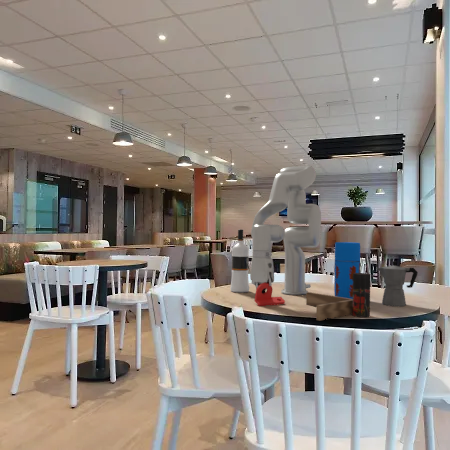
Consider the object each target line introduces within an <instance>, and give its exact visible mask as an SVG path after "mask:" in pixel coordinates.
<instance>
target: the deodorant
mask: <svg viewBox="0 0 450 450" xmlns="http://www.w3.org/2000/svg"><path fill="white" fill-rule="evenodd" d="M352 316H353V317H355V316H357V317H356V318H370V317H371V273H363V272H360V273H353V314H352ZM369 316H370V317H369Z"/></svg>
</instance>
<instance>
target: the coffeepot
mask: <svg viewBox="0 0 450 450" xmlns="http://www.w3.org/2000/svg"><path fill="white" fill-rule="evenodd" d="M377 271H379V272H380V275H381V276H382V278H383V283H384V284H385V288H384V291H383V295H382V301H381V303H382V304H383V305H384V304H385V305H384V306H388V305H390V306H389V307H406V305H407V302H406V296H405V290H404V288H403V287H404V285H405V280H406V275H407V273H412V277H411V279H410V281H409V284H408V285H406V288H409V289H411V288H413V287H414V284H415V281H416V279H417V276H418V271H417V269H415V268H414V267H402V266H399V265H397V261H396V260H393V261H392V265H390V266H383V267H378V268H377Z"/></svg>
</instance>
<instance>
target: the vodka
mask: <svg viewBox="0 0 450 450" xmlns="http://www.w3.org/2000/svg"><path fill="white" fill-rule="evenodd" d="M249 251H250V248H249V246H247V244H245V243H244V229H238V230H237V243H236V244H235V245H233V246H232V247H231V280H230V281H231V283H230V287H229V288H230V289H229V290H230V291H231V292H232V293H239V294H240V293H241V294H242V293H248V292H249V291H250V284H249V273H250V272H249V261H250V260H249V259H250V257H249V256H250V255H249V254H250V252H249Z"/></svg>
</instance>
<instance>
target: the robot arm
mask: <svg viewBox="0 0 450 450" xmlns="http://www.w3.org/2000/svg"><path fill="white" fill-rule="evenodd" d="M316 177H317V172H316V169H315V167H314V166H311V165H299V166H287V167H283V168H281V169H280V171H279V173H277V174H276V175H275V176H274V179H273V182H272V186H271V190H270V194H269V198H268V201H267V203H265V204H264V205H263V206H261V208H260V209H259V210H258V212H257V213H255V216H254V218H253V221H252V226H251V232H250V234H251V238H252V258H251V262H250V272H249V273H250V274H249V275H250V281H251V284H252V285H253V286H255V290H256V289H257V287H258V286H259V285H260V284H262V283H268V284H269V286H272V285H273V284H272V283H274V282H275V267H274V261H273V260H274V259H273V258H272V256H273V253H272V243H279V242H281V241H282V240H283V245H284V288H282V289H281V291H280V293H282V294H283V295H292V296H302V295H303V296H304V295H306V292H309V291H308V290H307V289H310V288H311V284H310V283H306V279H305V278H306V255H305V253H304V250H302V248H317V247H318V246H319V244H320V243H321V235H322V234H321V233H322V232H321V231H322V230H321V228H322V212H321V209H320V206H319V205H317V204H316V203H307V202H306V201H307V197H306V196H307V194H306V191H305V189H307V188H309V187H310V186H311V185H313V183H314V182H315V180H316ZM285 209H287V212H286V215H287V216H286V217H287V221H288V222H289V224H295V225H308V226H290V227H287V228H285V229H284V228H283V226H281V225H280V224H269V223H268V224H265V223H266V221H267V220H268V219H269V218H270V217H272V216H273V215H276V214H278V213H280V212H282V211H284V210H285ZM266 291H267V288H264V289H263V290H262V293H265V292H266Z"/></svg>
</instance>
